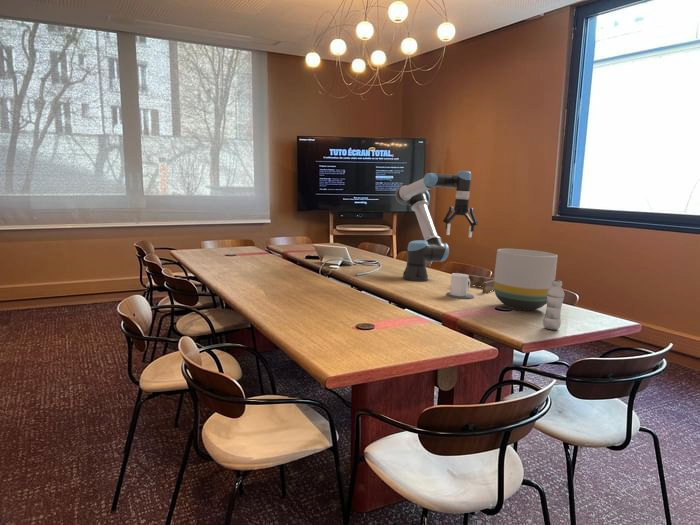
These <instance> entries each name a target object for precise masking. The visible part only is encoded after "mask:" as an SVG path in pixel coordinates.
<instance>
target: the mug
mask: <svg viewBox="0 0 700 525" xmlns="http://www.w3.org/2000/svg"><path fill="white" fill-rule="evenodd" d="M469 275H470V274H465V273H459V272H456V273H455V272H454V273H451V276H450V277H451V279H450V287H449V292H450V294H451V295H453V296H458V297H464V296H466V295H467V293H468V291H469V289H470V287H471V286H470V279H469ZM468 281H469V285H468Z"/></svg>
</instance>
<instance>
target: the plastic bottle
mask: <svg viewBox="0 0 700 525" xmlns="http://www.w3.org/2000/svg"><path fill="white" fill-rule="evenodd" d="M551 285H552V287H551V288H550V289H549V290H548V292H547V304H546V308H545V309H546V310H545V314H544V317H543V321H542V326H543V327H544V329H547V330H551V331H552V330H555V331H556V330H557V331H558V330H559V329H560V328H561V325H562V324H561V323H562V322H561V320H562V319H561V317H562V316H561V313H562V312H561V311H562V306H563V302H564V300H565V299H564V298H565V296H566V294H565V291H564V289H563V288H562V286H563V281H562V280H559V279H558V280H557V279H555V280H552V284H551Z"/></svg>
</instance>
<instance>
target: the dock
mask: <svg viewBox="0 0 700 525" xmlns="http://www.w3.org/2000/svg"><path fill="white" fill-rule="evenodd" d="M468 275H469V279H470V285H475V286H474V287H476V286H481V287H483V288H482V294H483V293H486V294H488V293H487V292H489V293H491V292H490V291H492V290H494V277H486V276H480V275H479V276H478V275H473V274H468ZM468 286H469V281H468ZM481 287H480V288H481ZM492 292H493V291H492Z"/></svg>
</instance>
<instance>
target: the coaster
mask: <svg viewBox="0 0 700 525" xmlns="http://www.w3.org/2000/svg"><path fill="white" fill-rule="evenodd" d="M446 296H447V297H449V298H454V299H458V300H459V299H460V300H471V299H474V298H475V296H474V295H473V294H472V293H468V292H467V295H466V296H464V297H458V296H453V295H451V294H450V291H448V292H446Z"/></svg>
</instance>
